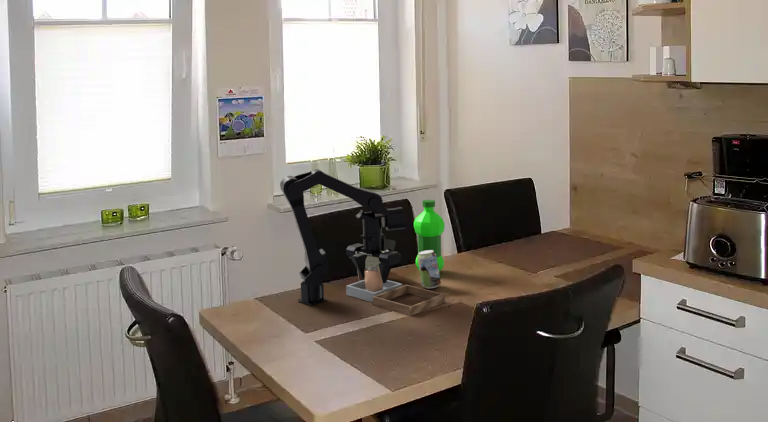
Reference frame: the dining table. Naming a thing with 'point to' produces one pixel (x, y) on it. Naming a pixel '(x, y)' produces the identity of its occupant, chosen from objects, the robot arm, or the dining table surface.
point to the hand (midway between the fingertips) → (373, 280)
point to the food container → (370, 264)
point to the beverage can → (428, 269)
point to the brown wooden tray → (385, 302)
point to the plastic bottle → (429, 231)
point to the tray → (361, 293)
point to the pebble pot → (373, 279)
